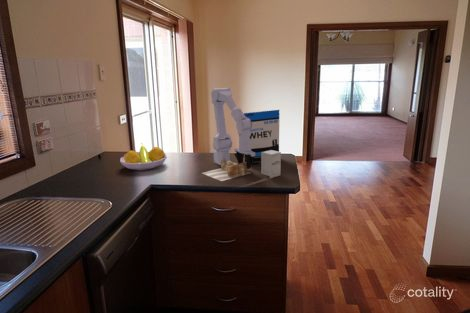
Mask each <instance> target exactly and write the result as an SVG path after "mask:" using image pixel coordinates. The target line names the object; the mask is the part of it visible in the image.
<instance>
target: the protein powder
mask: <svg viewBox="0 0 470 313" xmlns="http://www.w3.org/2000/svg"><path fill="white" fill-rule="evenodd" d="M243 114H244V115H245V117H247V118H249V119H250V120H251V122H252V127H251V129H250V149H251V151H253V152H255V158H254V159H253V162H252V165H251V166H256V165H257V164H259V165H261V152H265V151H269V150H273V151H278V152H280V109H272V110H264V111H263V110H262V111H253V112H243ZM244 156H248V155H246V154H244ZM244 162H246V160H245V159H244Z"/></svg>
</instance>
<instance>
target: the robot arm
mask: <svg viewBox="0 0 470 313" xmlns="http://www.w3.org/2000/svg"><path fill="white" fill-rule="evenodd" d="M232 92H233V91H232V90H231V88H230V87H218V88H215V87H214V88H213V89H212V90H211V92H210V95H211V104H212V105H213V110H214V118H215V128H216V135H215V136H213V144H212V146H213V148H214V151H213V163H214V164H216V165H218V166H221V159H225V160H226V164H227V161H231V160H230V150H231V148H233V141H232V138H231V135H230V134H229V133H227V127H226V121H225V120H226V119H225V111H224V105H225V104H226V106H228V108H229V109H230V111H231V112H230V114H231V116H232V118H233V120H234V122H235V123H236V124H235V127H236V130H237V134H238V147H236V148H234V150H233V151H234V157H235V158H236V160H237V163H238V164H239V163H243V162H244V161H245V160H246V165H247V169H250V170H251V168H252V166H253V165H252V162H253V159H254V158H255V152H253V151H251V149H250V129H251V127H252V122H251V120H250V119H249V118H247V117H245V115H244V112H243V111H242V109H241V108H240V107H238V106H237V104H236V102H235V100H234V99H233V93H232ZM245 154H246V155H248V156H245Z"/></svg>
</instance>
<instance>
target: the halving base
mask: <svg viewBox="0 0 470 313" xmlns="http://www.w3.org/2000/svg"><path fill="white" fill-rule="evenodd" d="M235 164H238V162H234V161H231V160H230V161H227V164H226V160H225V159H221V165H220V167H221V168H220V167H219V168H217V169H212V170H208V171H205V172H204V171H203V172H201V174H203V175H205V176H206V177H210V178H212V179H215V180H217V181H220V182H224V181H226V180H228V181H229V180H232V179H234V178H237V177H242V176H245V175H248V174H252V173H253V172H251V171H247V172H244V165H239V169H238V174H236V175H233V176H228V167H227V166H231V165H235Z"/></svg>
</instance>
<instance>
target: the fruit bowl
mask: <svg viewBox="0 0 470 313" xmlns="http://www.w3.org/2000/svg"><path fill="white" fill-rule="evenodd" d="M140 144H141V146H140V149H139V152H137V151H136V150H129V151H127V153H125V154H123V156H122V157H120V161H119V162H120V164H121V165H122V166H124V167H126V168H127V169H129V170H136V171H141V172H142V171H147V170H151V169H156V168H157V167H160V166H161V165H163V164H164V162H165V161H166V160H167V158H168V156H167V154H166V153H165V152H164V150H163V149H162V148H160V147H159V146H154V147H152V149H150V151H148V150H147V148H146V147H145V145H144V143H143V142H142V143H140Z"/></svg>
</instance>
